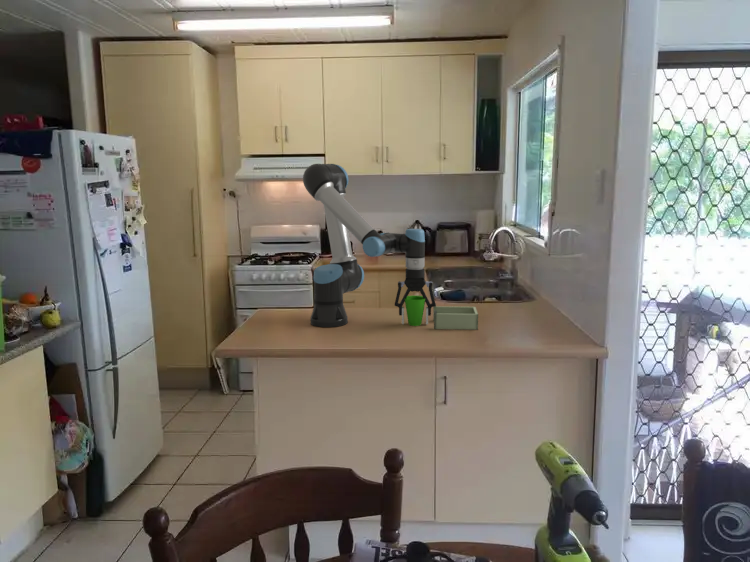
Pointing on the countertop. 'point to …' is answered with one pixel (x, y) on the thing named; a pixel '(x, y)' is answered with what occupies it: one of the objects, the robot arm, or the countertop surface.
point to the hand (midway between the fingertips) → (414, 323)
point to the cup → (414, 309)
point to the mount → (455, 317)
